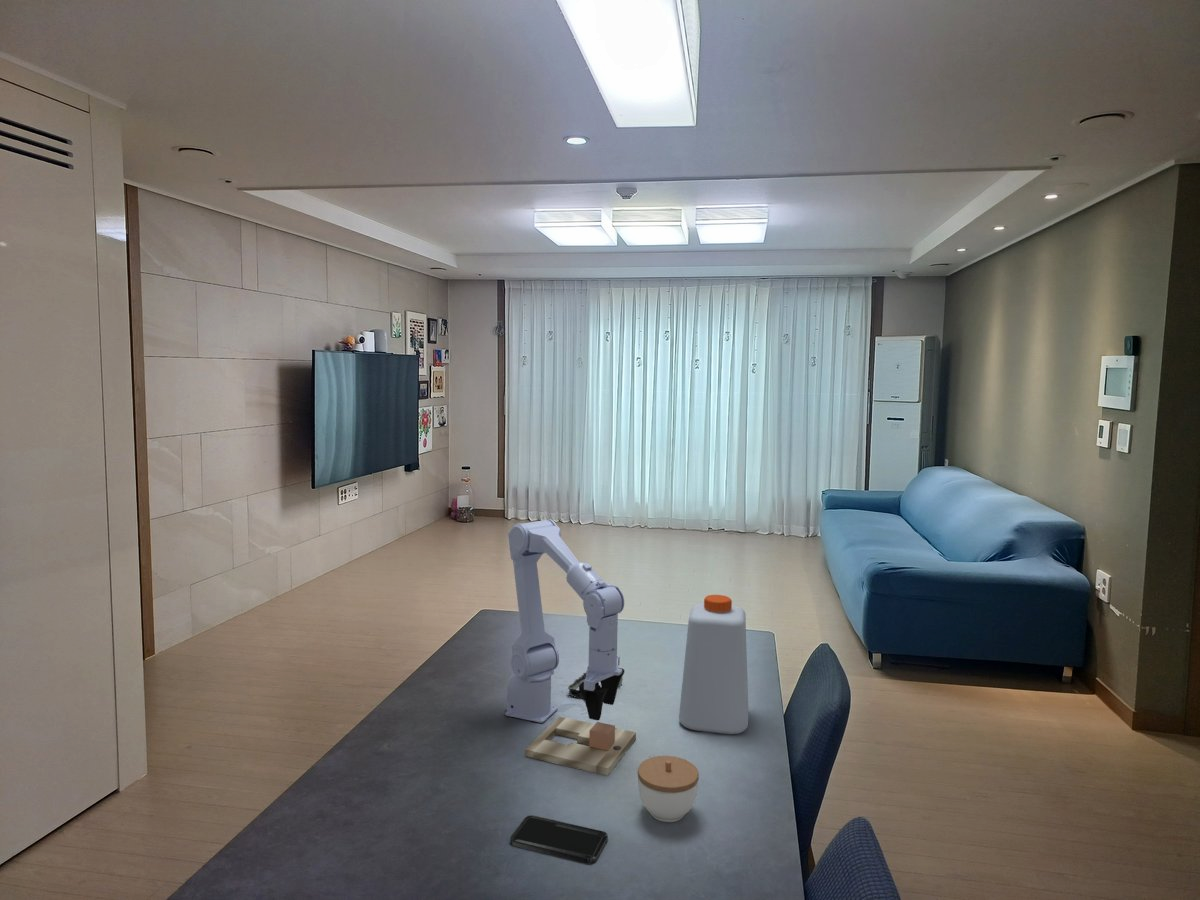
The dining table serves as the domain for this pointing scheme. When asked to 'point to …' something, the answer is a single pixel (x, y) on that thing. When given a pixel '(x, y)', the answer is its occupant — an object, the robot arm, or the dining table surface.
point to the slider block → (602, 736)
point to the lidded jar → (667, 787)
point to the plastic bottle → (715, 668)
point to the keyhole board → (579, 747)
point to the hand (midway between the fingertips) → (601, 711)
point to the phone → (559, 839)
